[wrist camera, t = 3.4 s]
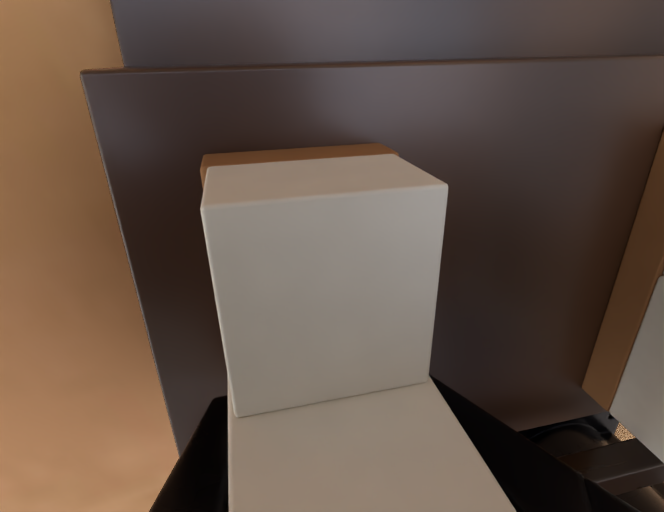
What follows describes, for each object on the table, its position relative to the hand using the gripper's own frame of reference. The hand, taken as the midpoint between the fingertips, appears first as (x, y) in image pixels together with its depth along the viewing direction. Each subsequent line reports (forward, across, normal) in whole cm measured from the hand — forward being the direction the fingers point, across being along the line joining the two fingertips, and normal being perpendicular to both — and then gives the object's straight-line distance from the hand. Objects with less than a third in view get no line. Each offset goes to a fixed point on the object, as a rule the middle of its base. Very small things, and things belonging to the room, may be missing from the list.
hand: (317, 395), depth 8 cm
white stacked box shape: (+1, 0, -1) cm, 1 cm away
